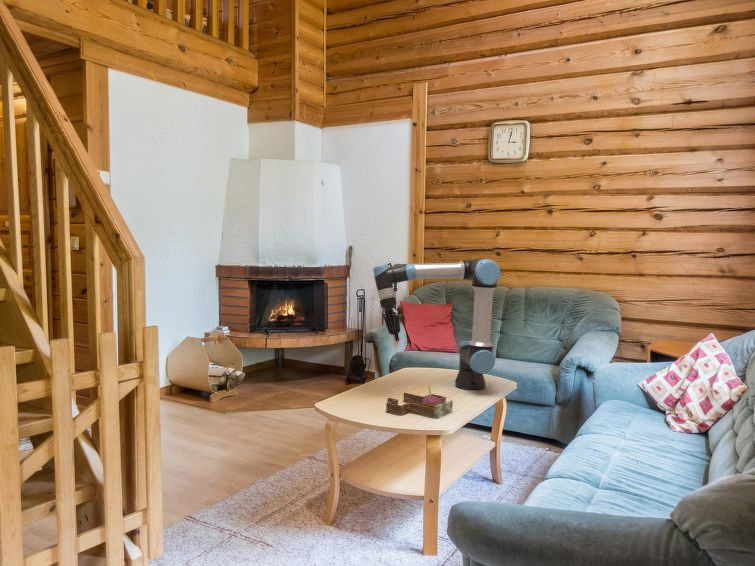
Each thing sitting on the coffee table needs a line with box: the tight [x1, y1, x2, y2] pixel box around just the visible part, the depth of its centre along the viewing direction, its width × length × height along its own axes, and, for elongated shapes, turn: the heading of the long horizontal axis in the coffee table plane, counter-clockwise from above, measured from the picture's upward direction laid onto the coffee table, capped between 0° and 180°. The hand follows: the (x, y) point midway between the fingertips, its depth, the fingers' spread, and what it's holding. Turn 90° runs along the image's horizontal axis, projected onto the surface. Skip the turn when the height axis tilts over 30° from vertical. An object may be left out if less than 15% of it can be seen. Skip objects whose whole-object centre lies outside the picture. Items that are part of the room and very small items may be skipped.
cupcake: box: [422, 384, 442, 408], centre depth 253 cm, size 9×8×12 cm
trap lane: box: [385, 392, 454, 420], centre depth 257 cm, size 26×25×5 cm
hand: (397, 348), depth 275 cm, fingers closed
